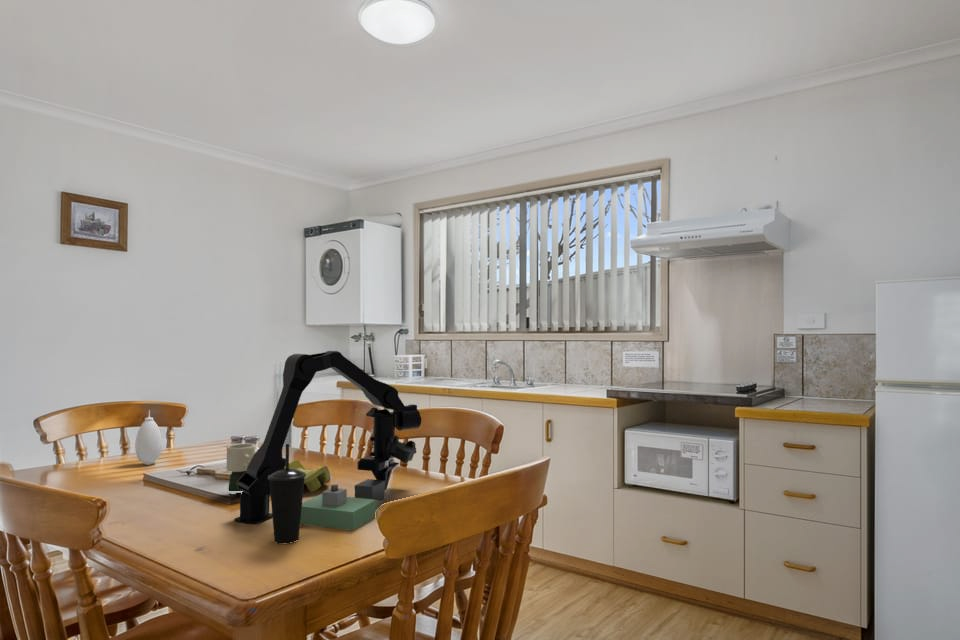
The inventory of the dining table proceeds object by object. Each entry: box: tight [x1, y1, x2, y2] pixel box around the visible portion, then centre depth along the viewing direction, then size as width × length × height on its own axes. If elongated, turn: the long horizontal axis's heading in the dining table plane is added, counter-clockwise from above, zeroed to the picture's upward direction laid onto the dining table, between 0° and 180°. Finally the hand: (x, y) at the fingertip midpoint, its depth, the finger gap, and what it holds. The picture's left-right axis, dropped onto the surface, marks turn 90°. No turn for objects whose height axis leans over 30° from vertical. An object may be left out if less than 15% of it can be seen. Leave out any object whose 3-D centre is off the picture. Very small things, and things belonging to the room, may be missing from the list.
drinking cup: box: [268, 443, 306, 544], centre depth 128 cm, size 8×8×20 cm
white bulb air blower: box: [134, 409, 163, 466], centre depth 201 cm, size 8×8×18 cm
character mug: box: [226, 443, 256, 491], centre depth 164 cm, size 11×7×13 cm, turn 42°
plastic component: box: [284, 459, 331, 493], centre depth 172 cm, size 20×7×10 cm
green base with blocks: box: [300, 484, 380, 531], centre depth 145 cm, size 17×15×8 cm
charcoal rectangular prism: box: [354, 478, 386, 503], centre depth 157 cm, size 7×5×5 cm
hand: (383, 490), depth 164 cm, fingers closed
